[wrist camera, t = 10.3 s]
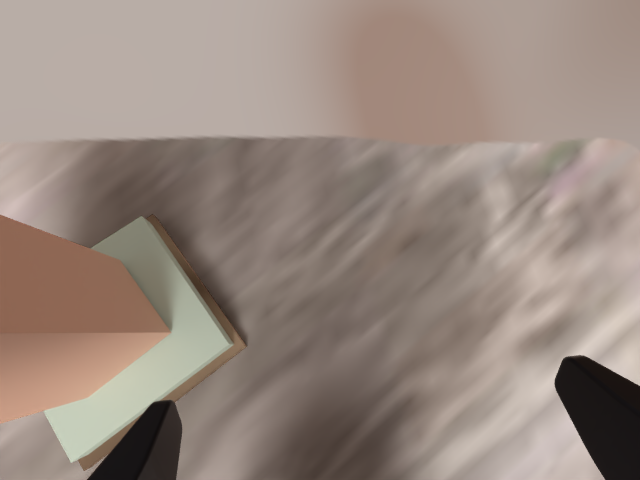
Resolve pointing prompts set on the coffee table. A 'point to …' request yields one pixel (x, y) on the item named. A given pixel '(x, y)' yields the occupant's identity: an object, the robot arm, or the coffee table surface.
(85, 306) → the tall block
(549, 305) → the coffee table surface
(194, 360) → the tower top slab
